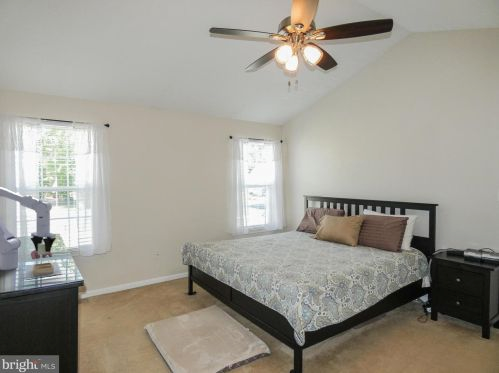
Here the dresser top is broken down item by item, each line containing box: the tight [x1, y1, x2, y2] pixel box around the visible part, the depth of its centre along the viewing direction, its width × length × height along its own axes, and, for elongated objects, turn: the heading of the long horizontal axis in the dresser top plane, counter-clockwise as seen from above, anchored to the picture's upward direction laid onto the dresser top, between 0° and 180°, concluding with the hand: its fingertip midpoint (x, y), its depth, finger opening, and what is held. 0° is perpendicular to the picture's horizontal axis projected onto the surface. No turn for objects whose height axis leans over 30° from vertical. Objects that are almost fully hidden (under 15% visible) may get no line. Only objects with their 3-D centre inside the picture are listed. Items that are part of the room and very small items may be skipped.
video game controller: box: [30, 249, 53, 260], centre depth 175 cm, size 10×5×7 cm, turn 141°
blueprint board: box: [24, 261, 62, 281], centre depth 150 cm, size 24×14×4 cm, turn 37°
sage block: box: [38, 242, 49, 256], centre depth 155 cm, size 4×4×5 cm
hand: (43, 251), depth 155 cm, fingers closed on sage block, 6 cm apart
